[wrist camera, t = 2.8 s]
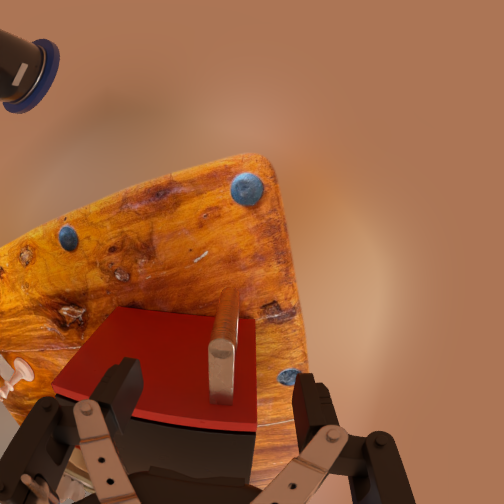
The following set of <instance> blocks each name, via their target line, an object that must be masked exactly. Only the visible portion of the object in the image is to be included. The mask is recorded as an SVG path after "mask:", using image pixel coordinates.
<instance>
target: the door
mask: <svg viewBox="0 0 504 504" xmlns="http://www.w3.org/2000/svg"><path fill="white" fill-rule="evenodd" d="M239 303H240V293H239V291H238V290H237V289H236V288H234V287H226V288H224V289H223V290H222V292H221V296H220V300H219V304H218V308H217V312H216V316H215V317H212V316H200V315H189V314H179V313H169V312H160V311H152V310H143V309H135V308H128V307H121V306H118V307H117V308H116V309H115V310H114V311H113V312H112V313H111V314H110V315H109V316H108V317H107V319H106V320H105V321H104V322H103V323H102V324H101V325H100V326H99V327H98V329H97V330H96V331H95V332H94V333H93V334H92V335H91V337H90V338H89V339H88V340H87V341H86V342H85V343H84V345H83V346H82V347H81V348H80V349H79V350H78V352H77V353H76V354H75V355H74V356H73V357H72V359H71V360H70V361H69V362H68V363H67V365H66V366H65V367H64V368H63V369H62V371H61V372H60V373H59V374H58V376H57V377H56V378H55V379H54V380H53V382H52V383H51V385H52V388H53V390H54V392H55V393H58V394H60V395H63V396H66V397H69V398H71V399H74V400H77V401H81V400H84V399H89V397H90V396H91V394H92V392H93V391H94V389H95V388H96V386H97V385H98V383H99V382H100V380H101V379H102V377H104V374H105V373H106V371H107V370H108V368H110V367H111V366H113V365H114V364H118V365H119V364H120V362H121V361H122V359H123V358H124V357H130V358H136V359H139V361H140V365H141V371H142V376H143V381H144V387H143V391H142V394H141V396H140V398H139V400H138V402H137V405H136V407H135V409H134V411H133V413H132V416H135V417H139V418H144V419H149V420H154V421H159V422H165V423H171V424H177V425H184V426H191V427H199V428H208V429H218V430H231V431H250V432H256V430H257V379H256V327H255V319H241V318H239Z"/></svg>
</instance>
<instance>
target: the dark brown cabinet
mask: <svg viewBox="0 0 504 504" xmlns="http://www.w3.org/2000/svg"><path fill="white" fill-rule="evenodd" d="M55 397H56V399H57V401H58V403H59V405H62V406H75V404H76V403H77V402H79V401H77V400H74V399H71V398H69V397H66V396H63V395H60V394H58V393H57V394H56V395H55ZM113 439H114V441H115V444H116V446H117V448H118V451H119V453H120V455H121V458H122V460H123V462H124V464H125V466H126V468H127V470H128V472H129V474H132V473H135V472H140V471H149V469H150V466H155V467H160V468H165V469H170V470H174V471H176V472H179V473H182V474H184V475H187V476H190V477H192V478H210V477H220V476H222V477H236V478H245V484H249V481H250V475H251V468H252V461H253V454H254V446H255V439H256V432H250V431H231V430H218V429H208V428H199V427H191V426H184V425H177V424H171V423H165V422H159V421H154V420H149V419H144V418H139V417H135V416H131V418H130V420H129V422H128V425H127V427H126V429H125V432H124V434H123V435H120V434H116V433H115V435H114V437H113Z"/></svg>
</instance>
